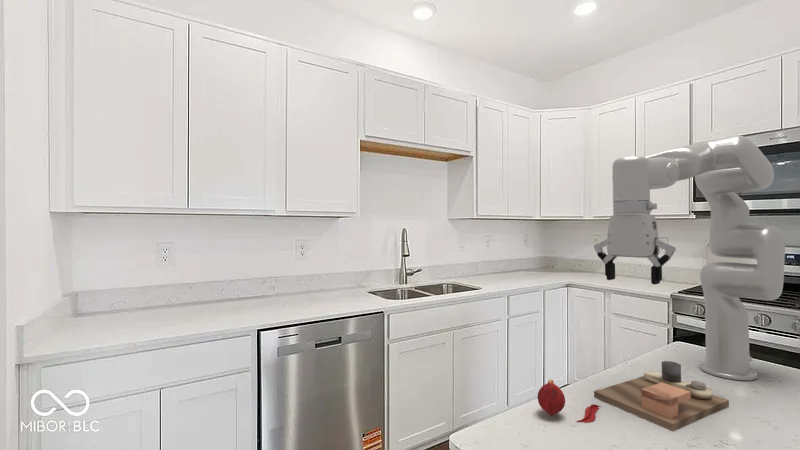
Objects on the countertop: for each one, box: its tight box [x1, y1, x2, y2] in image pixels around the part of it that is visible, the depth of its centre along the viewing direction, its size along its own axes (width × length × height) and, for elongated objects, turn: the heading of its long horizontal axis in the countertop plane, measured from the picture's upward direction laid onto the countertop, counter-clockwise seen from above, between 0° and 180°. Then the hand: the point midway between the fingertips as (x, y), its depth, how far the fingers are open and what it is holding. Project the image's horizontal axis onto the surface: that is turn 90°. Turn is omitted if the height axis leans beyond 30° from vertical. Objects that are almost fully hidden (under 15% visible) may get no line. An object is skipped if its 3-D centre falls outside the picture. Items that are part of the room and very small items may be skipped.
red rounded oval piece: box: [537, 378, 566, 417], centre depth 86 cm, size 6×6×8 cm
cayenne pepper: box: [575, 403, 601, 424], centre depth 86 cm, size 12×5×2 cm, turn 120°
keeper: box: [641, 382, 691, 418], centre depth 86 cm, size 8×6×4 cm
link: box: [643, 360, 713, 399], centre depth 96 cm, size 14×5×6 cm, turn 27°
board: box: [593, 375, 730, 432], centre depth 92 cm, size 23×18×5 cm
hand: (632, 281), depth 90 cm, fingers open, 9 cm apart
